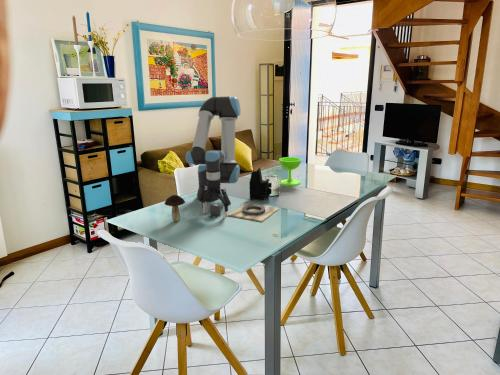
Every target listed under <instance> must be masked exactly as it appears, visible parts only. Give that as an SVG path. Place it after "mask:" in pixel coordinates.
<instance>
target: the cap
mask: <svg viewBox="0 0 500 375" xmlns="http://www.w3.org/2000/svg"><path fill="white" fill-rule="evenodd" d="M221 214H222V213H221V204H220V203H211V204H209V216H210V217H211V218H218V217H221V216H222V215H221Z"/></svg>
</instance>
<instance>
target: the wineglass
mask: <svg viewBox="0 0 500 375" xmlns="http://www.w3.org/2000/svg"><path fill="white" fill-rule="evenodd" d="M278 161H279V164H280V166H281V167H282V168H283V169H284V170H286V171H288V178H286V179H282V180H280V181H281V185H280V186H283V187H284V186H285V187H296V186H300V185H301V184H302V182H301V181H300V180H298V179H294V178H293V179H292V171H294V170H296V169H298V168H299V166H300V165H301V162H302V158H300V157H295V156H287V157H280V158H279V159H278Z"/></svg>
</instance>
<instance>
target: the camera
mask: <svg viewBox="0 0 500 375" xmlns="http://www.w3.org/2000/svg"><path fill="white" fill-rule="evenodd" d="M248 183H249V199H250V201H253V200H255V201H256V200H258V201H264V200H265V199H269V198H270V196H271V195H272V186H273V185H272V182H270V179H269V178H266V180H263V176H262V171H261V167H258V169H256V170H252V171H251V173H250V179H249V182H248Z"/></svg>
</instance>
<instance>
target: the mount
mask: <svg viewBox="0 0 500 375" xmlns="http://www.w3.org/2000/svg"><path fill="white" fill-rule="evenodd" d="M279 210H280V208H279V207H274V206H273V207H272V206H268V205H261V204H254V203H249V202H248V203H247V202H246V203H244V204H243V205H241V206H239V207H238V208H235V209H234V210H233V211H231V212H229V213H227V217H232V218H238V219H243V220H250V221H255V222H259V223H263V222H265V221H266V220H268V219H269V218H270V217H271V216H272V215H274V214H275V213H276V212H278V211H279Z"/></svg>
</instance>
